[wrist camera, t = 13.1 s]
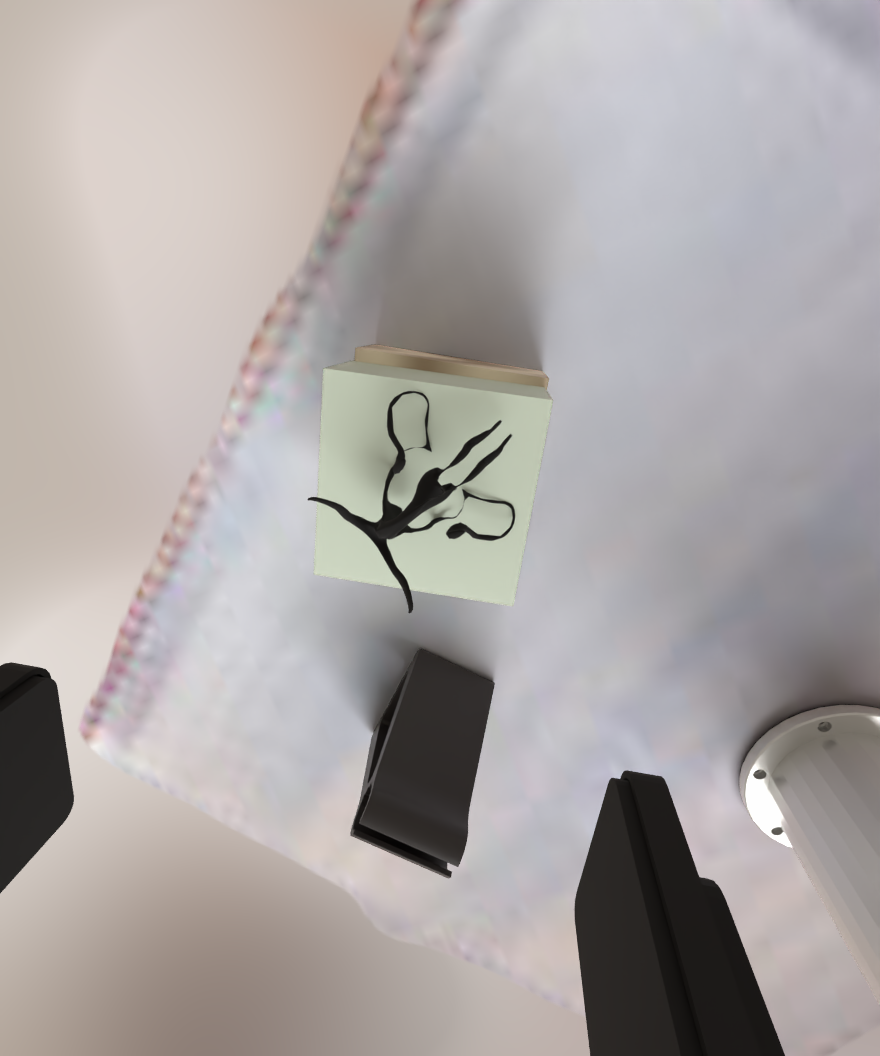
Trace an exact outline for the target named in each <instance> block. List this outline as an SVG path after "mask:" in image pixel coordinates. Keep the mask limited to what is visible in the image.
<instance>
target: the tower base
mask: <svg viewBox="0 0 880 1056" xmlns="http://www.w3.org/2000/svg"><path fill="white" fill-rule="evenodd" d="M354 361H358V362H366V363H373V364H380V365H387V366H394V367H402V368H409V369H416V370H423V371H431V372H438V373H445V374H452V375H460V376H467V377H474V378H481V379H489V380H496V381H503V382H510V383H517V384H525V385H532V386H539V387H545V388H546V390H547V386H548V381H549V378H548V377H547V376H546V374H545V373H544V372H543V371H539V370H533V369H526V368H520V367H514V366H508V365H501V364H495V363H489V362H482V361H476V360H470V359H464V358H457V357H451V356H445V355H438V354H432V353H426V352H420V351H413V350H407V349H401V348H395V347H388V346H382V345H376V344H374V345H368V346H363V347H357V348H356V349H355V360H354Z"/></svg>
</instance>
